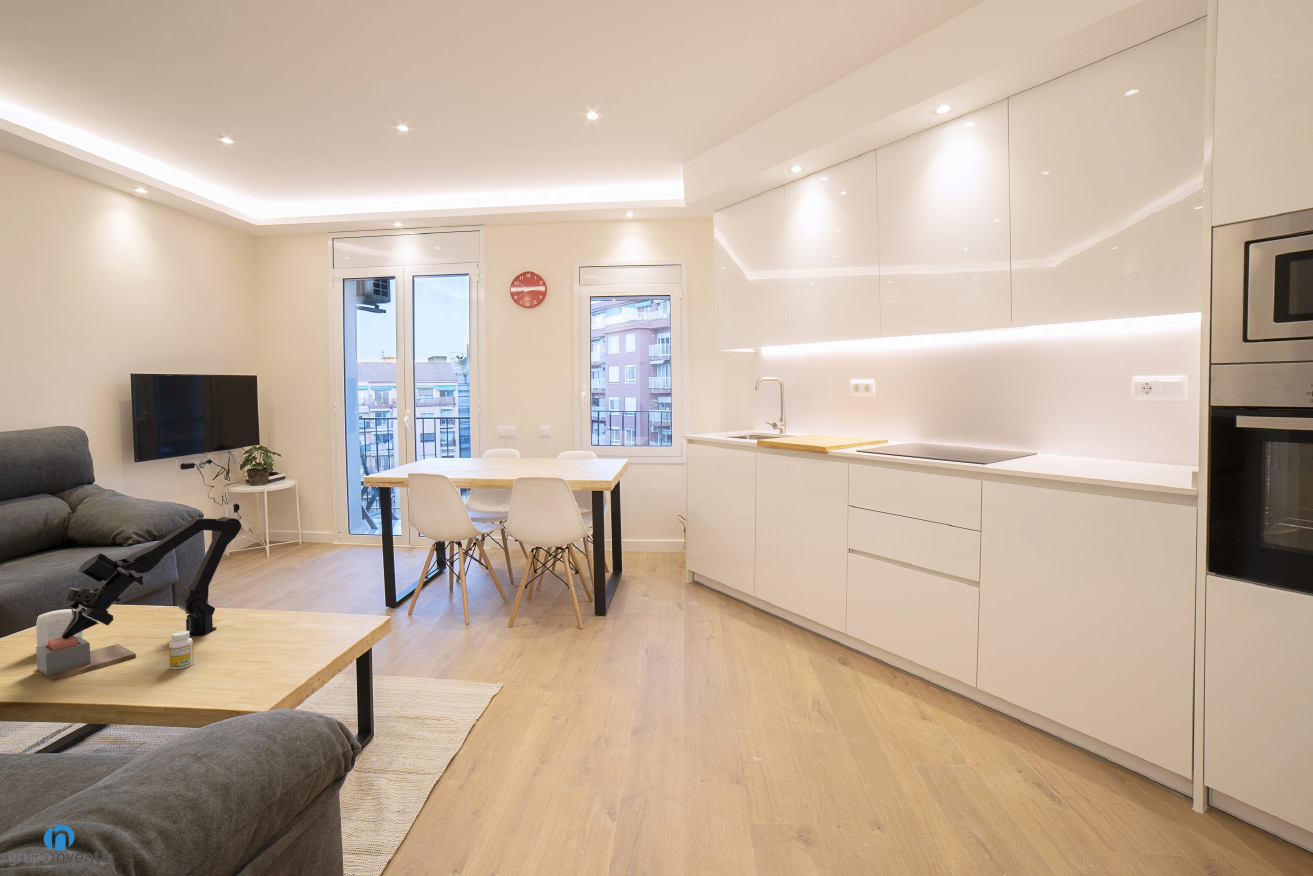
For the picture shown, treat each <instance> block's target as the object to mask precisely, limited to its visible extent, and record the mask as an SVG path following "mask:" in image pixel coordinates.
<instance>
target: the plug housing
mask: <svg viewBox="0 0 1313 876" xmlns="http://www.w3.org/2000/svg"><path fill="white" fill-rule="evenodd" d="M76 638H78V644H77V645H73V646H69V647H65V648H62V649H58V650H54V651H51V650H50V649H48V644H47V645H42V646H38V647H37V646H36V647H35V648H36V649H35V653H36V669H37V668H38V669H39V670H41V671H42V672H43V673H45V674H46V675H50V674H53V673H57V672H61V671H64V670H68V669H72V668H75V667H79V666H83V665H86V664H90V663H91V661H90V651H91V646H90V645H91V643H90V642H89V641H87V640H86V639H84V638H83V639H82V638H81V637H76ZM38 669H37V670H38ZM39 670H38V671H39ZM42 672H41V673H42ZM43 673H42V674H43Z"/></svg>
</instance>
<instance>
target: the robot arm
mask: <svg viewBox="0 0 1313 876" xmlns="http://www.w3.org/2000/svg"><path fill="white" fill-rule="evenodd" d="M241 529H242V523H241V521H240V520H239V519H237V518H234V517H229V516H221V517H218V518H208V517H207V518H204V517H194V518H192V519H191V520H190V521H189V522H187V523H186V524H184V525H183V526H181V527H179V528H178V529H176V530H175V531H173V532H172V533H170V534H168V535H167V536H166V537H164V538H162V539H161V540H159V541H158V542H156V543H155V544H152V545H150V546H147V547H144V548H141V549H140V550H137V551H135V552H133V553H130V554H129V555H128V556H127V557H125V558H120V559H118V560H112V559H111V558H110V557H108V556H107V555H105V554H104V553H101V552H99V553H97V554H96V555H94V556H93V557H91V558H89V559H88V560H85V561H84V562H83V563H82V565H80V566H79V568H78V573H80V574H82V575H84V576H85V577H87V578H89V579H91V580H93V581H95V582H97V583H100V582H104V583H102V585H101V586H100V587H98V586H97V587H94V588H92V590H91V589H90V588H84V587H81V588H75V587H68V588H67V589H66V591H65V593H64V594H63V597H62V600H65V601H67V603H66V605H67V606H69V607H71V608H72V609H74V610H75V611H74V610H71V611H72V615H73V618H72V620H71V622H70V623H69V625H68V626H67V628H66V630H65V631H64V633H63V635H62V636H61V637H62V638H64V639H67V638H69V637H71V636H73V635H75V634H77V633H79V632H81V631H83V632H84V630H86V629H89V628H92V627H94V626H97V625H98V624H100V623H102V624H103V625H106V626H110V625H111V623H112V622H113V621H114V615H112V614H111V613H109V612H110V611H108V610H109V609H110V607H112V606H113V605H114V603H116V602H117V603H119V602H120V601H121V600H122V598H121V597H122V596H123V595H124V594H125V593H126V592H127V591H128V589H130V587H131V586H133V585H134V584H135V583H136V584H138V585H139V586H143V585H144V581H143V577H144V576H143V575H141V574H146V573H149V572H150V571H151V570H153V569H154V568H155V567H156V566H157V565H159V563H161V562H162V560H163V559H164V558H165V556H166V555H168V554H169V553H170V552H173V550H175V549H176V548H178V547H179V546H181V545H182V544H184V543H185V542H186V541H188V540H190V539H192V537H194V536H195V535H197V534H198V533H200V532H202V531H211V541H210V542H211V543H210V544H209V546H208V548H207V551H206V554H205V555H204V557H203V559H202V562H201V564H200V565H199V569H198V570H197V573H196V575H194V576H195V577H194V578H193V581H192V583H190V585H189V586H187V587H185V586H182V587H181V590H180V593H179V595H177V597H176V600H177V607H178V608H179V610H182V611H184V613H185V614H186V620H185V629H186V630H185V631H189V634H190V636H202V637H203V636H205V635H206V634H208V633H210V632H212V631H215V630H217V626H214V625H213V621H214V620H213V615H214V614H215V611H216V607H214V606H212V605H211V604H209V603H208V599H209V587H210V584H211V581H212V580H213V577H214V575H215V574H216V571H217V568H218V567H219V564H220V562H221V560H222V558H223V555H224V553H225V552H226V549H227V547H228V546H229V544H230V543H232V542H233V540H234V539H236V537H237V535H238V534H239V533H240V531H241ZM119 569H121V570H122V571H123V572H122V571H120V570H119ZM131 571H132V572H134V573H137V574H139V575H136V574H134V573H132V572H131ZM190 636H189V637H190Z"/></svg>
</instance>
